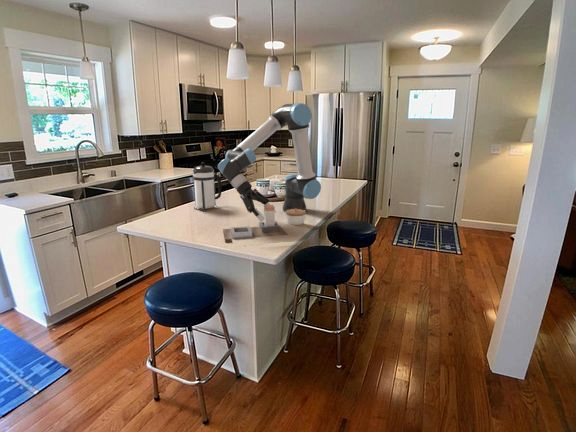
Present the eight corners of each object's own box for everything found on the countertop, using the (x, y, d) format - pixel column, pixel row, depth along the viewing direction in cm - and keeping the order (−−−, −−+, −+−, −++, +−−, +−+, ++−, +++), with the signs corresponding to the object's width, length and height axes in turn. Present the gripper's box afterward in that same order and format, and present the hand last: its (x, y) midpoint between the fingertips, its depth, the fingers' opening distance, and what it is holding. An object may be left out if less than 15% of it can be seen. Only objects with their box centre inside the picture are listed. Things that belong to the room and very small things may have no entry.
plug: (272, 227, 174) (272, 204, 170) (274, 229, 169) (274, 206, 166) (264, 227, 172) (264, 205, 169) (265, 230, 168) (265, 207, 165)
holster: (276, 225, 176) (276, 221, 175) (279, 230, 168) (279, 226, 167) (259, 227, 174) (259, 222, 173) (262, 232, 166) (262, 227, 165)
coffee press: (216, 211, 209) (213, 163, 201) (190, 211, 209) (187, 163, 201) (222, 205, 226) (220, 160, 218) (198, 205, 226) (195, 160, 218)
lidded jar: (293, 229, 175) (293, 212, 173) (281, 224, 184) (281, 207, 181) (309, 226, 181) (309, 209, 179) (297, 221, 190) (297, 205, 187)
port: (249, 231, 167) (249, 226, 167) (252, 237, 158) (252, 232, 158) (230, 232, 165) (230, 227, 164) (232, 238, 156) (231, 233, 156)
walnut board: (280, 227, 178) (280, 225, 177) (288, 237, 163) (288, 234, 162) (223, 231, 171) (223, 229, 170) (225, 242, 156) (225, 239, 155)
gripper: (248, 185, 183) (273, 215, 182) (224, 194, 160) (252, 228, 159) (257, 176, 180) (283, 206, 178) (233, 184, 157) (262, 218, 156)
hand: (268, 216), depth 169 cm, fingers open, 13 cm apart
